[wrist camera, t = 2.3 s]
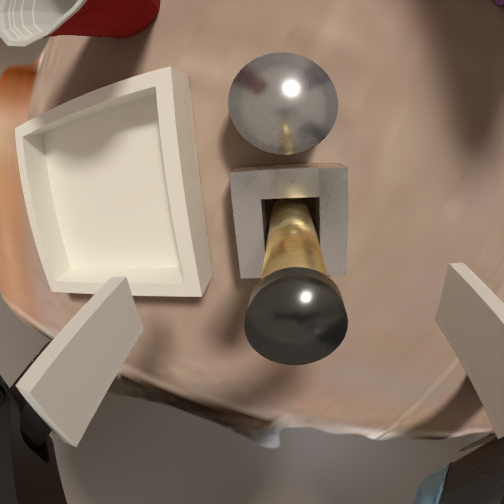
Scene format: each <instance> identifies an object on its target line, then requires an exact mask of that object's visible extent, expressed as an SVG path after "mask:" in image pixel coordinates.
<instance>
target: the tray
mask: <svg viewBox="0 0 504 504" xmlns="http://www.w3.org/2000/svg"><path fill="white" fill-rule="evenodd" d="M15 137H16V147H17V156H18V163H19V170H20V177H21V183H22V188H23V193H24V198H25V203H26V208H27V212H28V216H29V221H30V225H31V228H32V232H33V236H34V239H35V243H36V246H37V250H38V253H39V256H40V259H41V262H42V265H43V268H44V271H45V274H46V277H47V280H48V283H49V285H50V288H51V291H52V292H66V293H83V294H95V293H96V292H97V291H98V290H99V289H100V288H101V287H102V286H103V285H104V284H105V283H106V282H107V281H108V280H109V279H110V278H111V277H127V280H128V284H129V287H130V290H131V293H132V296H178V297H202V296H203V294H204V292H205V289H206V287H207V285H208V283H209V281H210V279H211V277H212V275H213V267H212V260H211V254H210V247H209V241H208V234H207V227H206V220H205V213H204V205H203V198H202V190H201V183H200V175H199V166H198V158H197V149H196V140H195V131H194V121H193V111H192V100H191V89H190V77H189V76H188V75H186V74H184V73H182V72H180V71H179V70H177V69H175V68H173V67H167V68H163V69H159V70H155V71H151V72H148V73H144V74H141V75H137V76H134V77H131V78H128V79H125V80H122V81H119V82H116V83H113V84H110V85H107V86H104V87H102V88H99V89H96V90H94V91H91V92H89V93H86V94H84V95H81V96H79V97H77V98H74V99H72V100H70V101H67V102H65V103H63V104H61V105H59V106H57V107H55V108H52V109H50V110H48V111H46V112H44V113H42V114H40V115H38V116H37V117H35V118H33V119H31V120H29V121H27V122H25V123H24V124H22V125H20V126H18V127H17V128H15Z"/></svg>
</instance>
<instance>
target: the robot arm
mask: <svg viewBox="0 0 504 504" xmlns="http://www.w3.org/2000/svg"><path fill="white" fill-rule="evenodd" d="M435 320H436V322H437V324H438V325H439V327H440V328H441V330H442V332H443V333H444V335H445V336H446V338H447V340H448V341H449V343H450V345H451V347H452V348H453V350H454V352H455V353H456V355H457V357H458V359H459V360H460V362H461V364H462V366H463V368H464V369H465V371H466V373H467V375H468V377H469V379H470V381H471V382H472V384H473V386H474V388H475V390H476V392H477V394H478V396H479V398H480V400H481V402H482V404H483V406H484V409H485V411H486V413H487V415H488V417H489V419H490V422H491V424H492V426H493V429H494V431H495V433H496V436H494V437H493V438H491V439H490V440H489V441H487V442H486V443H484V444H483V445H481V446H479V447H478V448H476V449H475V450H473V451H471V452H470V453H468V454H467V455H465V456H463V457H461V458H460V459H458V460H456V461H454V462H453V463H452V462H451V463H449V464H447V465H446V467H444V468H442V469H441V470H439V471H437V472H435V473H433V474H431V475H429V476H428V477H426V478H425V479H424V480H423V481H422V482H421V484H420V485H419V487H418V490H417V492H416V496H415V501H414V504H504V303H503V302H502V301H501V300H500V299H499V298H498V297H497V296H496V295H495V294H494V293H493V292H492V291H491V290H490V289H489V288H488V287H487V286H486V285H485V284H484V283H483V282H482V281H481V280H480V279H479V278H478V277H477V276H476V275H475V274H474V273H473V272H472V271H471V270H470V269H469V268H468V267H467V266H466V265H465V264H464V263H452V264H449V266H448V271H447V275H446V280H445V284H444V288H443V292H442V296H441V300H440V304H439V308H438V311H437V315H436V318H435ZM143 330H144V329H143V326H142V323H141V321H140V318H139V315H138V312H137V309H136V306H135V303H134V300H133V297H132V293H131V290H130V287H129V284H128V280H127V277H111V278H110V279H109V280H108V281H107V282H106V283H105V284H104V285H103V286H102V287H101V288H100V289H99V290H98V291H97V292H96V293H95V295H94V296H93V297H92V298H91V299H90V300H89V301H88V302H87V303H86V304H85V305H84V306H83V307H82V308H81V309H80V310H79V311H78V312H77V314H76V315H75V316H74V317H73V318H72V319H71V320H70V321H69V322H68V323H67V324H66V326H65V327H64V328H63V329H62V330H61V331H60V332H59V333H58V335H57V336H56V337H55V338H54V339H52V340H51V341H50V342H48V343H47V344H46V345H45V346H44V347H43V348H42V350H41V351H40V352H39V354H37V356H36V357H35V358H34V359H33V362H31V363H30V364H29V365H28V366H27V368H26V369H25V370H24V371H23V373H22V374H21V375H20V376H19V378H18V379H17V380H16V381H15V383H14V384H13V385H12V386H11V387H10V388H9V387H8V385H7V384H6V383H5V381H4V380H3V378H2V377H1V375H0V504H67V502H66V498H65V495H64V491H63V487H62V483H61V479H60V475H59V471H58V466H57V461H56V456H55V451H54V445H53V441H52V439H51V437H50V436H49V434H50V432H51V430H52V431H53V433H54V434H55V435H56V436H57V437H58V438H59V439H60V440H61V441H64V442H66V443H68V444H71V445H73V446H75V447H77V445H78V443H79V441H80V440H81V437H82V436H83V434H84V432H85V430H86V428H87V426H88V424H89V422H90V421H91V419H92V417H93V415H94V414H95V412H96V410H97V408H98V406H99V405H100V403H101V401H102V399H103V397H104V396H105V394H106V392H107V390H108V389H109V387H110V385H111V383H112V382H113V380H114V378H115V377H116V375H117V373H118V371H119V370H120V368H121V366H122V365H123V363H124V361H125V360H126V358H127V356H128V355H129V353H130V351H131V350H132V348H133V346H134V345H135V343H136V341H137V340H138V338H139V336H140V335H141V333H142V332H143Z"/></svg>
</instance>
